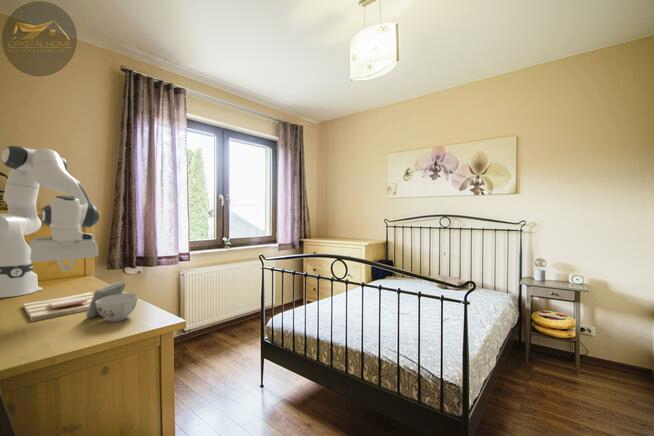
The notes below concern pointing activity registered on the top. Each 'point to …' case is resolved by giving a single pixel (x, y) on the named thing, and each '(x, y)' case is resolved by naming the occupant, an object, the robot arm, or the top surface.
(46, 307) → the board
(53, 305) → the tile
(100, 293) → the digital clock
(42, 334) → the top surface
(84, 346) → the top surface
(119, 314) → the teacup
